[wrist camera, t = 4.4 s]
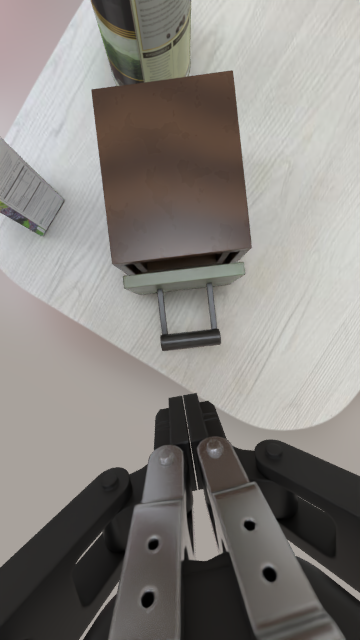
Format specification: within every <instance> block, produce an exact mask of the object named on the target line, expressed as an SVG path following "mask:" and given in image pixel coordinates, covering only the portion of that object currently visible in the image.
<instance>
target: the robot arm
mask: <svg viewBox="0 0 360 640" xmlns="http://www.w3.org/2000/svg"><path fill="white" fill-rule="evenodd" d="M183 397H184V404H185V410H186V416H187V422H188V427H187V422H186V416H185V410H184V404H183V399H182V396H177V397H172V398H169V408H166V409H160V411H159V412H158V413H157V415H156V420H155V439H154V451H153V452H152V454H151V455H150V457H149V460H148V464H147V465H146V466H145V467H143V468H142V469H140V470H138V471H136V472H134V473H132V474H129V473H128V472H127V470H125V469H123V468H119V467H116V468H111V469H108V470H107V471H104V472H103V473H101V474H100V475H99V476H98V477H97V478H96V479H95V480H93V481H92V482H91V483H90V484H89V485H88V486H87V487H86V488H85V489H84V490H83V491H82V492H81V493H80V494H79V495H78V496H76V497H75V498H74V499H73V500H72V501H71V502H70V503H69V504H68V505H67V506H66V507H65V508H64V509H62V510H61V512H59V513H58V514H57V515H56V516H55V517H54V518H53V519H52V520H51V521H50V522H49V523H47V524H46V525H45V526H44V527H43V528H42V529H41V530H40V531H39V532H38V533H37V534H36V535H35V536H34V537H33V538H32V539H30V540H29V541H28V542H27V543H26V544H25V545H24V546H23V547H22V548H21V549H20V550H19V551H18V552H17V553H15V554H14V556H12V557H11V558H10V559H9V560H8V561H7V562H6V563H5V564H4V565H3V566H2V567H0V640H79V639H80V637H81V636H82V634H83V633H84V631H85V630H86V628H87V627H88V625H89V624H90V622H91V621H92V620H93V618H94V617H95V615H96V613H97V612H98V611H99V609H100V608H101V606H102V605H103V603H104V602H105V600H106V599H107V597H108V596H109V595H110V593H111V592H112V590H113V589H114V587H115V586H116V584H117V583H118V582H119V586H118V591H117V594H116V595H115V596H114V597H113V598H112V599H111V600H110V602H108V604H107V605H106V606H105V608H104V609H103V610H102V611H101V613H100V614H99V616H98V617H97V619H96V620H95V622H94V624H93V625H92V627H91V628H90V630H89V631H88V633H87V634H86V636H85V637H84V639H83V640H360V601H359V600H357V599H356V598H355V597H354V596H352V595H351V594H350V593H349V592H347V591H346V590H345V589H344V588H342V587H341V586H340V585H338V584H337V583H336V582H335V581H334V580H332V579H331V578H330V577H329V576H327V575H326V574H325V573H324V572H322V571H321V570H320V569H318V568H317V567H315V566H314V565H312V564H310V563H309V562H307V561H305V560H303V559H301V558H299V557H297V556H295V554H294V552H293V550H292V548H291V547H290V545H289V543H288V541H287V539H288V540H289V541H290V542H292V543H293V544H294V545H296V546H297V547H298V548H300V549H301V550H302V551H304V552H305V553H307V554H308V555H309V556H311V557H312V558H313V559H315V560H316V561H317V562H319V563H320V564H321V565H323V566H324V567H326V568H327V569H328V570H330V571H331V572H332V573H334V574H335V575H337V576H338V577H339V578H340V579H342V580H343V581H345V582H346V583H347V584H349V585H350V586H351V587H353V588H354V589H355V590H357V591H358V592H360V476H358V475H356V474H353V473H351V472H349V471H347V470H344V469H342V468H340V467H338V466H336V465H333V464H331V463H329V462H326V461H324V460H322V459H320V458H318V457H315V456H313V455H311V454H309V453H306V452H304V451H302V450H299V449H297V448H295V447H293V446H290V445H288V444H286V443H284V442H281V441H278V440H264V441H262V442H260V443H259V444H257V446H256V447H255V451H251V450H242V449H238V448H236V447H234V446H232V445H231V443H230V442H229V441H228V440H227V439H226V436H225V433H224V431H223V428H222V425H221V423H220V420H219V417H218V414H217V412H216V409H215V406H214V405H213V404H212V403H210V402H209V401H205V402H199V400H198V396H197V393H194V394H188V395H183ZM188 429H189V434H188ZM189 436H190V440H189ZM190 441H191V448H192V453H191V448H190ZM192 454H193V459H194V465H195V471H196V476H197V482H198V489H199V490H200V489H204V495H205V500H206V507H207V511H208V515H209V519H210V523H211V527H212V530H213V534H214V538H215V542H216V546H217V550H218V553H219V555H218V556H216V557H214V558H212V559H210V560H208V561H196V554H195V553H196V552H195V532H194V511H193V495H192V491H195V490H197V486H196V480H195V473H194V467H193V460H192ZM298 496H299V497H298ZM301 498H302V499H301ZM303 499H304V500H303ZM305 500H306V501H307V502H306V501H305ZM308 502H309V503H308ZM310 503H311V504H310ZM312 504H313V505H314V506H313V505H312ZM315 506H316V507H315ZM317 507H318V508H320V509H321V510H320V509H318V508H317ZM322 510H323V511H324V512H323V511H322ZM101 532H103V533H102V534H101V536H100V537H99V538H98V539H97V540H96V541H95V543H94V544H93V545H92V546H91V547H90V548H89V550H88V551H87V552H86V553H85V555H84V556H83V557H82V558H81V559H80V560H79V562H78V563H77V564H76V562H77V561H78V559H79V558H80V556H81V555H82V554H83V553H84V552H85V550H86V549H87V548H88V547H89V546H90V545H91V543H92V542H93V541H94V540H95V539H96V537H98V535H99V534H100V533H101ZM75 564H76V565H75ZM119 580H120V581H119Z"/></svg>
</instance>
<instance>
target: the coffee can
mask: <svg viewBox="0 0 360 640" xmlns="http://www.w3.org/2000/svg"><path fill="white" fill-rule="evenodd" d="M91 3H92V6H93V10H94V13H95V16H96V19H97V23H98V26H99V29H100V33H101V36H102V39H103V43H104V46H105V49H106V53H107V56H108V59H109V63H110V66H111V71H112V75H113V78H114V80H115V83H116V84H117V86H122V85H129V84H137V83H144V82H151V81H159V80H166V79H174V78H181V77H188V75H189V71H190V64H191V62H190V27H191V0H91Z"/></svg>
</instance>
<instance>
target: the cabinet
mask: <svg viewBox="0 0 360 640" xmlns="http://www.w3.org/2000/svg"><path fill="white" fill-rule="evenodd" d="M92 99H93V107H94V115H95V124H96V132H97V140H98V149H99V157H100V166H101V174H102V182H103V191H104V199H105V207H106V216H107V224H108V233H109V241H110V249H111V258H112V264H113V265H114V266H116V267H117V268H119V269H120V270H122V271H123V272H125V273H126V274H128V275H137V274H145V273H142V272H141V271H140V270H139V269H138V268H137V267H136V266H135V265H134V264H137V263H145V262H153V261H162V260H170V259H179V258H187V257H195V256H204V255H212V254H221V253H229V252H230V253H229V255H228V256H227V257H226V259H225V260H224V261H223V263H222V264H230V263H236V262H238V261H239V260H240V259H241V258H242V257H243V256H244V255H245V254H246V253H247V252H248V251H249V250H250V249H251V248H252V245H251V236H250V227H249V217H248V208H247V198H246V189H245V180H244V170H243V161H242V152H241V142H240V133H239V123H238V114H237V105H236V95H235V86H234V77H233V71H225V72H218V73H210V74H203V75H196V76H188V77H181V78H174V79H166V80H159V81H151V82H144V83H137V84H129V85H122V86H114V87H107V88H100V89H92ZM222 264H217V265H222ZM208 266H213V265H208ZM200 267H205V266H200ZM191 268H196V267H191ZM183 269H188V268H183ZM174 270H179V269H174ZM166 271H171V270H166ZM157 272H162V271H157ZM149 273H154V272H149Z"/></svg>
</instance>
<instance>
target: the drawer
mask: <svg viewBox="0 0 360 640" xmlns="http://www.w3.org/2000/svg"><path fill="white" fill-rule="evenodd" d="M229 253H230V252H229ZM229 253H221V254H212V255H204V256H195V257H187V258H179V259H170V260H162V261H153V262H145V263H137V264H134V265H135V266H136V267H137V268H138V269H139V270H140V271H141V272H142V273H145V274H137V275H129V276H123V283H124V288H125V289H127V290H129V291H132V292H134V293H137V294H139V295H142V294H151V293H157V294H158V303H159V311H160V320H161V329H162V335H161V337H160V339H161V348H162V351H168V350H177V349H186V348H195V347H204V346H213V345H220V344H221V336H220V331H219V329H217V323H216V314H215V305H214V296H213V287H212V286H220V285H228V284H231V283H232V282H234V281H235V280H237V279H239V278H240V277H242V276H243V275H245V269H244V262H239V263H230V264H222V263H223V261H224V260H225V259H226V257H227V256H228V255H229ZM217 264H222V265H217ZM208 265H213V266H208ZM200 266H205V267H200ZM191 267H196V268H191ZM183 268H188V269H183ZM174 269H179V270H174ZM166 270H171V271H166ZM157 271H162V272H157ZM149 272H154V273H149ZM202 287H207V295H208V304H209V313H210V322H211V329H210V330H201V331H192V332H183V333H174V334H168V331H167V322H166V313H165V305H164V296H163V292H168V291H177V290H185V289H194V288H202Z"/></svg>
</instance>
